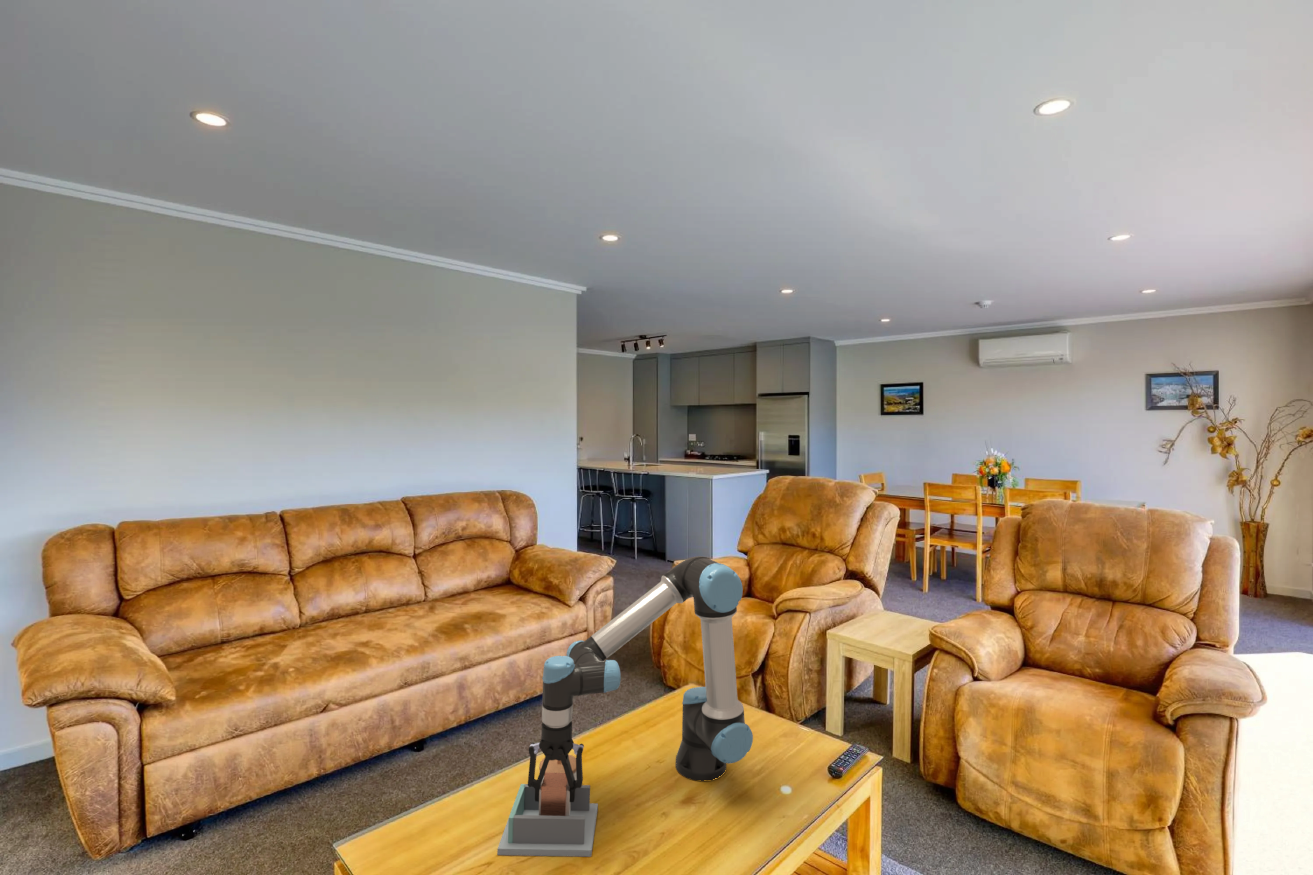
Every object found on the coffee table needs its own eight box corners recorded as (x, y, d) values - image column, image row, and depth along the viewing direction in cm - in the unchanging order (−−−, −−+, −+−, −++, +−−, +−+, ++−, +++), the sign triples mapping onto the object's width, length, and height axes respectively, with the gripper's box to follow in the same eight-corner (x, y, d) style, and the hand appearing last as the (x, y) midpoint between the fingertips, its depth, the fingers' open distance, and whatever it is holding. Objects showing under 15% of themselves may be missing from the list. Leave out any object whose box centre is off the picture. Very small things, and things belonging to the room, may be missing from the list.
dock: (597, 808, 162) (598, 780, 162) (591, 856, 144) (591, 824, 144) (514, 807, 161) (514, 779, 161) (497, 854, 143) (498, 823, 143)
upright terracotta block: (568, 807, 156) (569, 772, 155) (564, 823, 150) (565, 786, 149) (544, 807, 155) (545, 772, 155) (540, 822, 149) (541, 786, 149)
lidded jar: (570, 805, 163) (571, 770, 163) (532, 799, 165) (533, 765, 165) (582, 782, 173) (583, 750, 173) (547, 777, 176) (548, 745, 175)
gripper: (596, 715, 156) (594, 804, 156) (522, 713, 156) (519, 803, 156) (593, 729, 149) (591, 823, 149) (515, 727, 148) (513, 822, 149)
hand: (554, 813), depth 152 cm, fingers closed on upright terracotta block, 6 cm apart
